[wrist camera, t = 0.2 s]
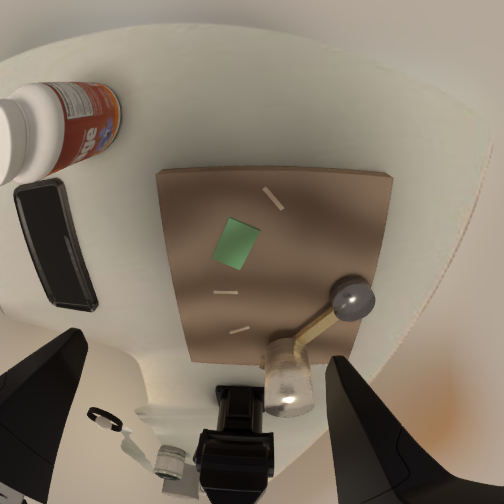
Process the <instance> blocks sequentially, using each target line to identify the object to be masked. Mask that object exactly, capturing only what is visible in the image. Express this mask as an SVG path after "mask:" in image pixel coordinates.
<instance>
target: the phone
mask: <svg viewBox="0 0 504 504" xmlns="http://www.w3.org/2000/svg"><path fill="white" fill-rule="evenodd" d="M13 196H14V202H15V206H16V210H17V214H18V217H19V221H20V224H21V228H22V231H23V234H24V238H25V241H26V244H27V247H28V250H29V253H30V256H31V258H32V261H33V264H34V266H35V269H36V272H37V274H38V277H39V279H40V282H41V284H42V286H43V289H44V291H45V293H46V295H47V298H48V300H49V301H50V302H51V303H52V304H53V305H54V306H56V307H61V308H67V309H73V310H79V311H86V312H94V311H95V310H96V308H97V306H98V300H97V297H96V294H95V292H94V289H93V286H92V283H91V280H90V278H89V275H88V272H87V269H86V266H85V262H84V259H83V256H82V253H81V249H80V246H79V242H78V239H77V235H76V232H75V228H74V224H73V220H72V216H71V211H70V207H69V203H68V198H67V193H66V188H65V185H64V183H63V182H62V181H61V180H60V179H58V178H53V179H48V180H43V181H38V182H33V183H28V184H24V185H21V186H19V187H17V188H15V190H14V194H13Z"/></svg>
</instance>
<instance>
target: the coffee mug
mask: <svg viewBox="0 0 504 504" xmlns="http://www.w3.org/2000/svg"><path fill="white" fill-rule="evenodd" d="M199 478H200V473H198V472H197V469H196V466H193V465H189V464H184V467H183V473H182V478H181V479H180V480H176V481H173V480H168V479H164V484H163V489H162V493H163V494H165V495H168V496H171V497H176V498H180V499H186V500H194V501H197V500H199V495H206V493H205V491H202V490H201V484H200V481H199Z"/></svg>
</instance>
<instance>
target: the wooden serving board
mask: <svg viewBox="0 0 504 504" xmlns="http://www.w3.org/2000/svg"><path fill="white" fill-rule="evenodd" d="M156 180H157V188H158V196H159V203H160V211H161V217H162V224H163V230H164V237H165V243H166V248H167V254H168V260H169V265H170V270H171V276H172V281H173V285H174V290H175V295H176V300H177V304H178V309H179V313H180V318H181V322H182V326H183V330H184V334H185V338H186V342H187V346H188V350H189V354H190V358H191V361H192V362H200V363H214V364H234V365H260V363H261V362H263V361H264V360H265V350H266V348H267V346H268V345H269V344H270V343H272V342H274V341H276V340H279V339H284V338H292V337H293V336H294V335H296V334H297V333H298V332H300V331H301V330H302V329H304V328H305V327H306V326H308V325H309V324H310V323H311V322H313V321H314V320H315V319H317V318H318V317H319V316H320V315H322V314H323V313H324V312H325V311H327V310H328V309H329V308H330V307H332V304H331V301H330V292H331V290H332V288H333V286H334V285H335V284H336V283H337V282H338V281H340V280H341V279H343V278H346V277H349V276H360V277H362V278H364V279H365V280H366V281H367V282H368V283H369V285H370V287H371V286H372V282H373V279H374V275H375V271H376V267H377V262H378V258H379V254H380V250H381V245H382V240H383V236H384V231H385V226H386V220H387V215H388V209H389V203H390V197H391V191H392V184H393V178H392V177H391V176H389V175H388V174H386V173H381V172H371V171H360V170H348V169H334V168H316V167H290V166H223V167H196V168H179V169H164V170H161V171H160V172H159V173H157V174H156ZM361 320H362V319H360V320H357V321H352V322H346V321H342V320H340V319H339V320H338V321H337V322H335V323H334V324H333V325H331V326H330V327H329V328H327V329H326V330H325V331H323V332H322V333H321V334H319V335H318V336H317V337H315V338H314V339H313V340H311V341H310V342H308V343H307V344H306V346H307V349H308V356H309V364H310V365H311V364H329V361H330V359H331V357H332V356H334V355H343V356H345V357H346V359H347V360H348V359H349V356H350V353H351V350H352V348H353V345H354V342H355V339H356V336H357V333H358V330H359V327H360V324H361Z"/></svg>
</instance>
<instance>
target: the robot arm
mask: <svg viewBox="0 0 504 504" xmlns="http://www.w3.org/2000/svg"><path fill="white" fill-rule="evenodd" d="M87 352H88V343H87V341H86V339H85V337H84V334H83V332H82V331H81V330H80V329H77V328H70V329H68V330H67V331H65V332H64V333H62V334H61V335H59V336H58V337H56V338H55V339H53V340H52V341H50V342H49V343H47V344H46V345H44V346H43V347H41V348H40V349H38V350H37V351H36V352H34V353H33V354H31V355H29V356H28V357H26V358H25V359H24V360H22V361H21V362H19V363H18V364H17V365H15V366H14V367H12V368H11V369H9V370H8V371H7V372H5V373H4V374H2V375H1V376H0V504H27V502H26V500H25V499H23V498H24V495H25V496H28V497H29V498H32V499H34V500H36V501H38V502H41V503H43V504H47V500H48V494H49V488H50V483H51V478H52V474H53V469H54V464H55V460H56V456H57V452H58V448H59V444H60V441H61V437H62V434H63V430H64V427H65V423H66V420H67V417H68V414H69V411H70V407H71V405H72V402H73V399H74V396H75V393H76V390H77V387H78V384H79V381H80V377H81V374H82V370H83V366H84V362H85V359H86V355H87ZM325 379H326V404H327V419H328V425H329V432H330V438H331V445H332V453H333V460H334V468H335V476H336V485H337V493H338V502H339V504H504V486H495V485H488V484H483V483H478V482H474V481H469V480H465V479H461V478H458V477H456V476H454V475H452V474H450V473H449V472H448V471H447V470H445V469H444V468H443V467H442V466H441V465H440V464H439V463H438V462H437V461H436V460H435V459H433V458H432V457H431V456H430V455H429V454H428V453H427V452H426V451H425V450H424V449H423V448H422V447H421V446H420V445H419V444H418V443H417V442H416V441H415V440H414V438H413V437H412V436H411V435H410V434H409V433H408V432H407V431H406V429H405V428H404V427H403V426H402V425H401V423H400V422H399V421H398V420H397V418H396V417H395V416H394V415H393V414H392V412H391V411H390V410H389V409H388V408H387V406H386V405H385V404H384V403H383V402H382V400H381V399H380V398H379V397H378V396H377V394H376V393H375V392H374V391H373V390H372V388H371V387H370V386H369V385H368V384H367V382H366V381H365V380H364V379H363V378H362V376H361V375H360V374H359V373H358V372H357V370H356V369H355V368H354V367H353V366H352V364H351V363H350V362H349V361H348V360H347V359H346V357H345V356H343V355H334V356H332V357H331V359H330V361H329V364H328V366H327V369H326V373H325ZM215 391H216V395H217V400H218V404H219V415H218V423H217V431H216V430H208V429H203V433H200V438H199V444H198V447H197V449H196V451H195V454H194V456H193V461H194V463H195V464H196V469H197V472H198V473H200V478H199V481H200V484H201V485H202V487H203V489H204V491H205V493H206V495H207V496H208V498H209V500H210V501H211V503H212V504H257V502H258V501H259V500H260V498H261V497H262V496H263V495H264V493H265V491H266V488H267V483H268V477H273V475H274V436H273V432H269V433H262V413H263V412H265V409H264V396H265V388H239V387H220V386H218V387H216V390H215Z"/></svg>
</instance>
